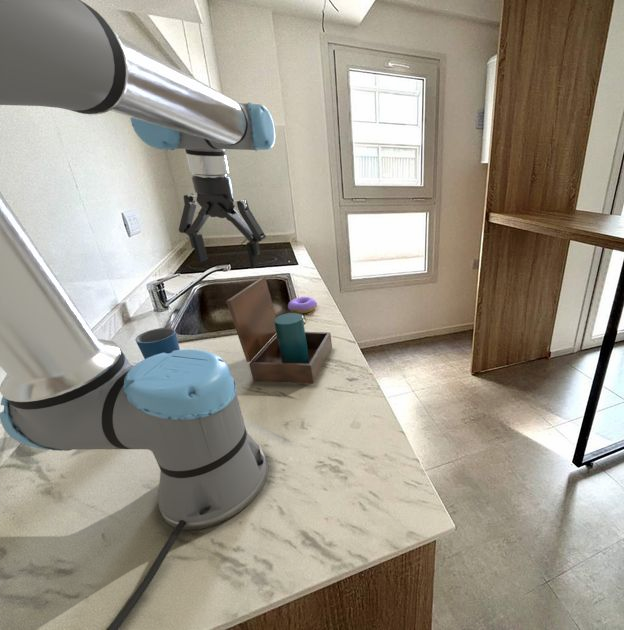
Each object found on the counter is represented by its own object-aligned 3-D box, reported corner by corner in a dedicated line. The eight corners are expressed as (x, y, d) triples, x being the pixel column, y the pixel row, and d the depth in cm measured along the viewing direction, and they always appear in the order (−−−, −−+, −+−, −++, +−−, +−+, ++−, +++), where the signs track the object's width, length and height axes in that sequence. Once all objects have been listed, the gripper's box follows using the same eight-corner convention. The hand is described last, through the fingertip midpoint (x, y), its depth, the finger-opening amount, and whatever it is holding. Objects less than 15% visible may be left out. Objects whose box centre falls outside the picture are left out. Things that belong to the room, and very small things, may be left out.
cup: (151, 395, 75) (128, 337, 68) (183, 380, 80) (164, 325, 74) (168, 405, 72) (146, 346, 66) (200, 388, 77) (181, 332, 71)
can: (295, 373, 82) (288, 326, 77) (276, 366, 85) (268, 320, 80) (314, 360, 88) (308, 316, 82) (296, 354, 90) (289, 310, 85)
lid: (265, 276, 85) (262, 276, 85) (229, 300, 70) (226, 301, 70) (279, 329, 92) (276, 329, 92) (250, 361, 77) (246, 362, 77)
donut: (312, 301, 126) (311, 290, 123) (321, 314, 120) (320, 303, 117) (285, 306, 121) (284, 295, 118) (292, 320, 115) (291, 309, 112)
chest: (332, 350, 94) (330, 332, 92) (313, 385, 79) (311, 365, 77) (281, 348, 94) (278, 330, 92) (253, 384, 79) (248, 363, 77)
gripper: (272, 178, 78) (283, 263, 88) (168, 167, 78) (191, 253, 88) (257, 183, 71) (270, 274, 82) (143, 170, 71) (170, 263, 82)
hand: (229, 263), depth 85 cm, fingers open, 13 cm apart
